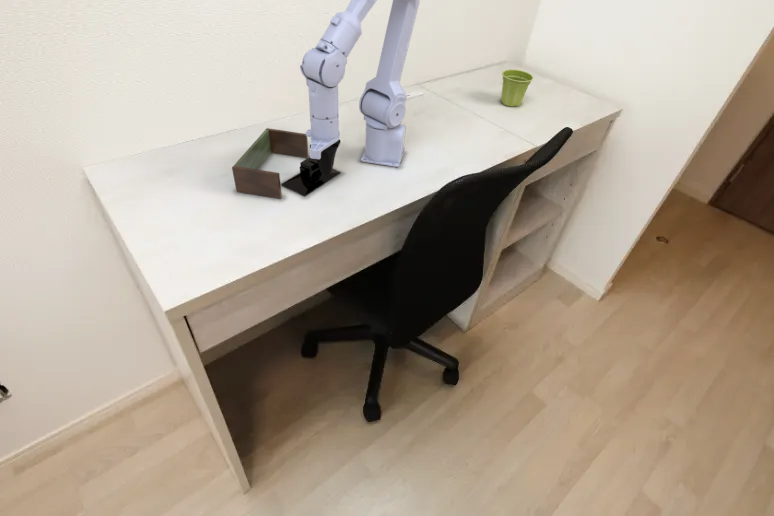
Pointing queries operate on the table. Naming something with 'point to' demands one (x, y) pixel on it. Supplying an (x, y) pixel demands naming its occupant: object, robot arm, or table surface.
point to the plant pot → (514, 86)
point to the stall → (255, 156)
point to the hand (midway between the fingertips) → (326, 172)
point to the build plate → (309, 178)
